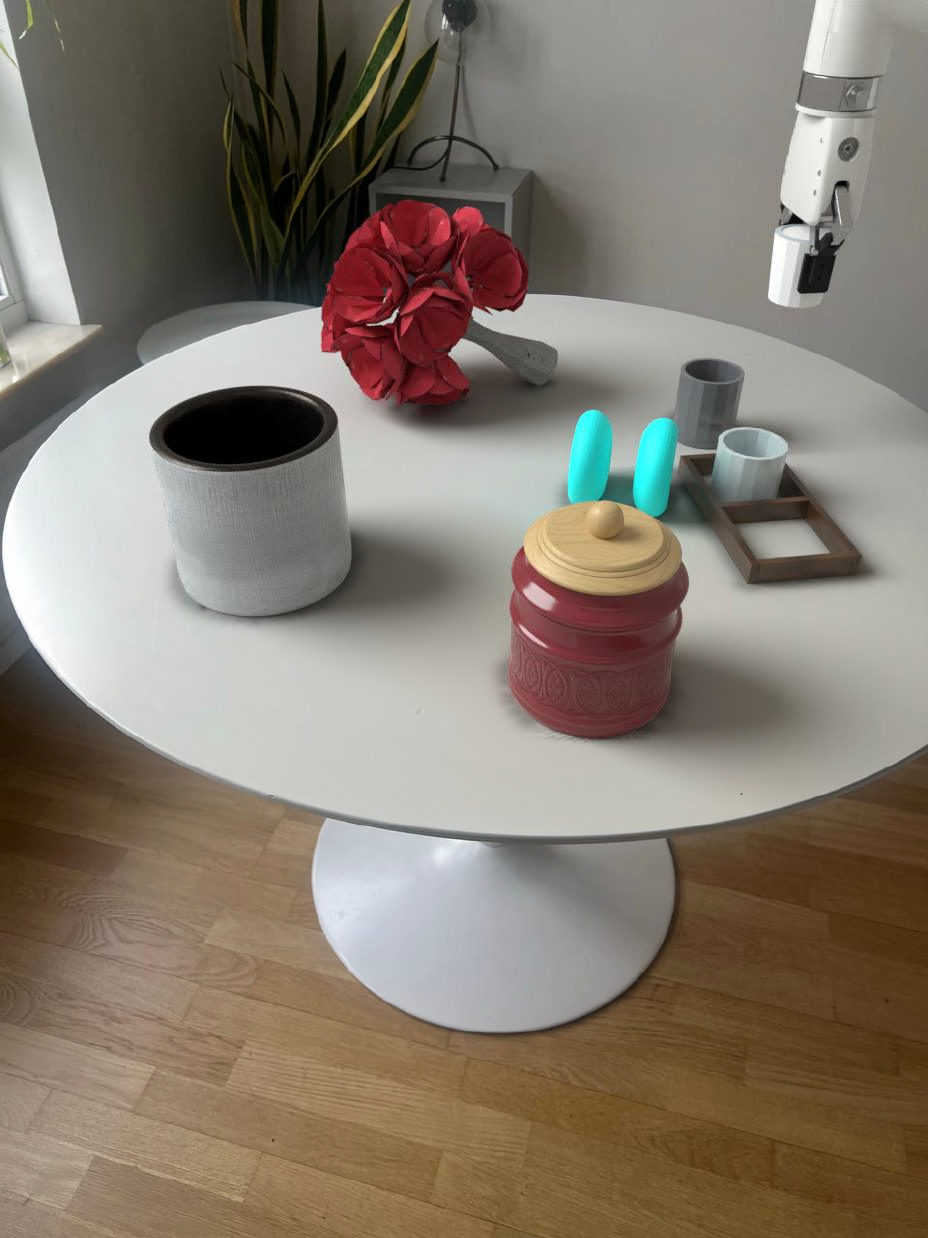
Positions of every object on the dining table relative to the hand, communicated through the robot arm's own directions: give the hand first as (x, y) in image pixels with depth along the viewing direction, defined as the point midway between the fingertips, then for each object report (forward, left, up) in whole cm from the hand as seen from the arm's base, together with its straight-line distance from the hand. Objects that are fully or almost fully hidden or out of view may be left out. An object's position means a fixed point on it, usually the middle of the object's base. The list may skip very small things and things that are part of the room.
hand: (798, 278), depth 101 cm
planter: (+58, +22, -18) cm, 65 cm away
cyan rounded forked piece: (+22, +15, -18) cm, 32 cm away
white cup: (0, 0, -2) cm, 2 cm away
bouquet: (+37, -14, -18) cm, 44 cm away
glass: (+9, +16, -18) cm, 26 cm away
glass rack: (+9, +21, -18) cm, 29 cm away
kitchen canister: (+32, +42, -18) cm, 56 cm away
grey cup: (+8, +1, -18) cm, 19 cm away
